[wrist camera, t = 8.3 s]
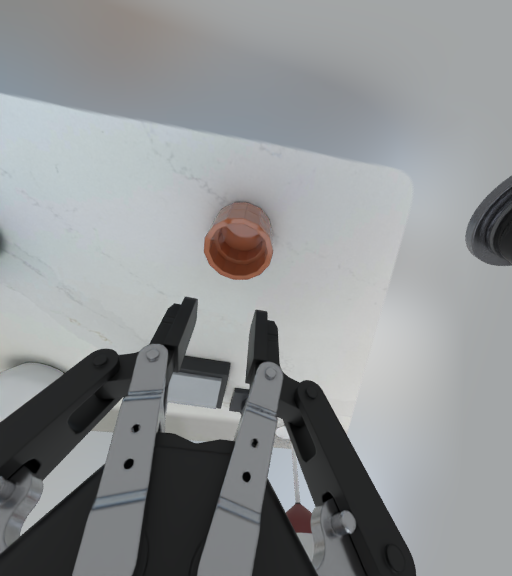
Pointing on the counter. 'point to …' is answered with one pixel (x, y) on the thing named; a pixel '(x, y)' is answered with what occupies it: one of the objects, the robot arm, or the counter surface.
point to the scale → (199, 383)
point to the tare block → (238, 400)
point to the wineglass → (299, 507)
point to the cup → (23, 385)
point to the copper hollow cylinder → (239, 241)
